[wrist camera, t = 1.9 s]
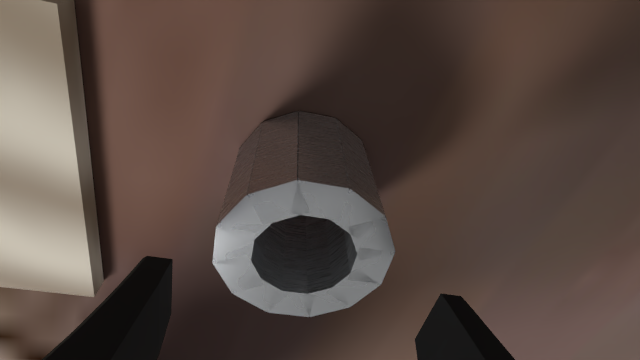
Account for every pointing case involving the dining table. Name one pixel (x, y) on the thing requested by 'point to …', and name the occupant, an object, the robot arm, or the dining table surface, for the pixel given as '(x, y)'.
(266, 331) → the dining table surface
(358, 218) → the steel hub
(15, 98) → the post stand
